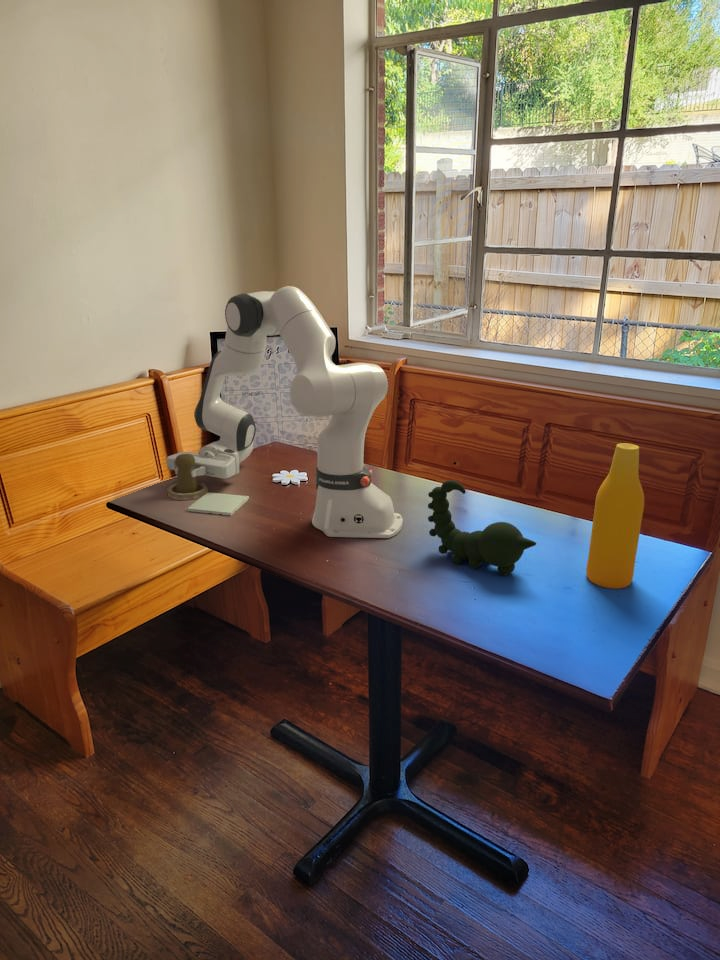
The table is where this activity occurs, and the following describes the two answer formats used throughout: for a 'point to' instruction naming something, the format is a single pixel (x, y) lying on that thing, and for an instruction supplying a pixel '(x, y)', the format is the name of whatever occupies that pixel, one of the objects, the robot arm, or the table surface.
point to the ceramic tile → (218, 503)
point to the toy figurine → (475, 536)
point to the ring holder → (187, 495)
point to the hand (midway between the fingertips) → (183, 473)
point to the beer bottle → (617, 521)
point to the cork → (185, 474)
